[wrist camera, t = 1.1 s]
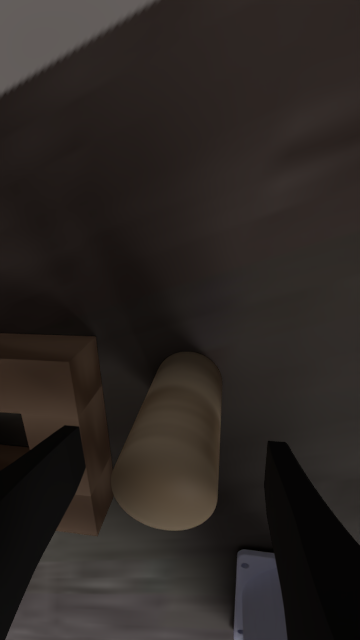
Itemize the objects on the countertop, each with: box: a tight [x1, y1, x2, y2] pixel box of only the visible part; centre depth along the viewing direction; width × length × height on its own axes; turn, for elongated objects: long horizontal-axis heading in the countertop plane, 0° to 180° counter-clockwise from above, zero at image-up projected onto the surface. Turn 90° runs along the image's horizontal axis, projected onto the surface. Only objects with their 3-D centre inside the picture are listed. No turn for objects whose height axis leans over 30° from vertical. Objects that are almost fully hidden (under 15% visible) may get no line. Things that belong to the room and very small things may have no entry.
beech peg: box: [111, 352, 222, 531], centre depth 13 cm, size 4×4×7 cm
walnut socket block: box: [0, 333, 114, 536], centre depth 18 cm, size 11×11×3 cm
